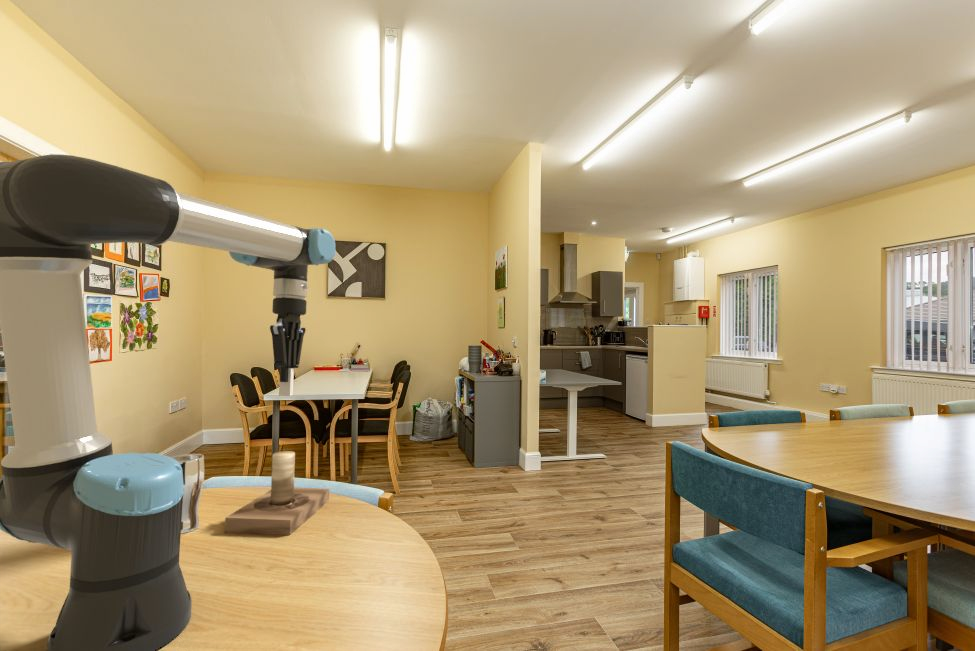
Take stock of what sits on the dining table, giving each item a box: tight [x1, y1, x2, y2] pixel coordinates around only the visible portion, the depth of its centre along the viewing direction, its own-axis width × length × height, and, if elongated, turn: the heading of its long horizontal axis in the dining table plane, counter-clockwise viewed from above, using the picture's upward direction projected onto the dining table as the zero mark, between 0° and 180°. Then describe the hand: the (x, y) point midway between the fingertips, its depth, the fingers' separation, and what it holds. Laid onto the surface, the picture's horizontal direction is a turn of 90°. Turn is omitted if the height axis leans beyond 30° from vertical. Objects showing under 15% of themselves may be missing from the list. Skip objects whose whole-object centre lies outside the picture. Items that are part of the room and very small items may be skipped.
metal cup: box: [170, 453, 205, 535], centre depth 94 cm, size 7×7×15 cm
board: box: [224, 487, 330, 536], centre depth 102 cm, size 20×14×3 cm
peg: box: [270, 450, 296, 506], centre depth 102 cm, size 5×5×14 cm
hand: (285, 395), depth 106 cm, fingers closed
